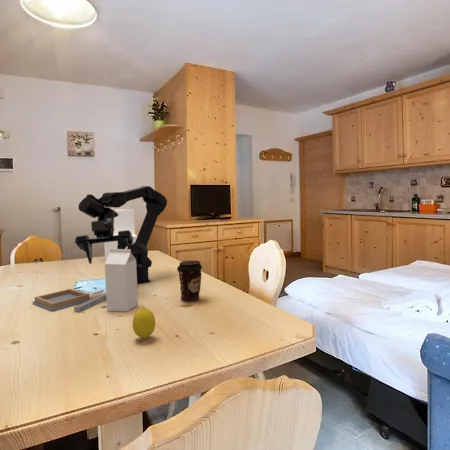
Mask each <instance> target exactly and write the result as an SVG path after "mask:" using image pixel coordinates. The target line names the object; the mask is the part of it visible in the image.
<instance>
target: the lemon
mask: <svg viewBox="0 0 450 450" xmlns="http://www.w3.org/2000/svg"><path fill="white" fill-rule="evenodd" d="M155 327H156V318H155V315H154V313H153V311H151V310H150V309H148V308H146V307H141V308H140V309H139V310H136V312H135V313H134V315H133V318H132V329H133V333H135V335H136V336H137V337H139V338H142V339H144V340H147V338H148V337H149V336H151V335H152V334H153V333H154V331H155Z"/></svg>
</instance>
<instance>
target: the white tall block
mask: <svg viewBox="0 0 450 450" xmlns="http://www.w3.org/2000/svg"><path fill="white" fill-rule="evenodd" d="M114 210H115V212H116V213H117V214H118V216H117V217H115V218H114V235H113V236H116V235H118V232H119V231H125V230H129V231H130V232H131V234H132V236H133V243H135V241H136V239H137V236H138V234H136V226H135V223H136V222H135V209H129V208H128V209H114ZM133 243H132V244H133ZM103 246H104V263H105V262H106V260H107V258H108V255H109V253H110V249H117V246H118V241H113V242H103ZM127 248H128V246H127V247H126V248H125V249H127Z"/></svg>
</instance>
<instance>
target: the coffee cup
mask: <svg viewBox="0 0 450 450" xmlns="http://www.w3.org/2000/svg"><path fill="white" fill-rule="evenodd" d="M202 269H203V266H202V264H201V261H199V260H185V261H180V262H179V265H178V266H177V268H176V270H177V272H178V276H179V278H178V279H179V282H180V283H179V284H180V286H179V287H180V295H181V296H180V301H181V302H183V303H194V302H197V301H199V300H200V291H201V286H202V285H201V282H202Z"/></svg>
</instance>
